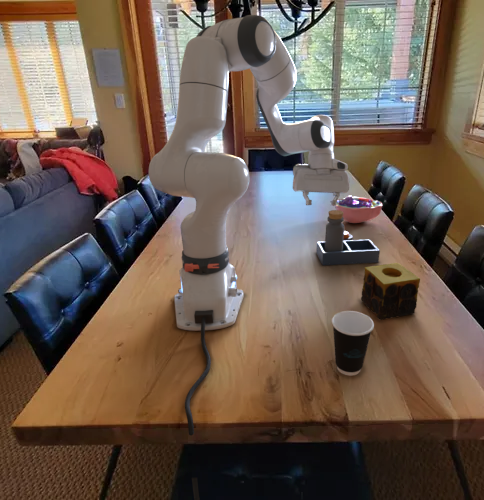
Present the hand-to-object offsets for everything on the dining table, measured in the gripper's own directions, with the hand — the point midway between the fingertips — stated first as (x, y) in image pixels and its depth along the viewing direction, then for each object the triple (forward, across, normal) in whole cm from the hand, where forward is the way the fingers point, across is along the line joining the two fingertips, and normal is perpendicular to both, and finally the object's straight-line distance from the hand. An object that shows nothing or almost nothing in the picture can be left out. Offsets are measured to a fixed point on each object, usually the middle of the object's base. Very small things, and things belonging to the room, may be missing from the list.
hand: (321, 205), depth 129 cm
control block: (+13, +10, +3) cm, 17 cm away
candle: (+29, +2, -36) cm, 46 cm away
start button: (+11, +10, +2) cm, 15 cm away
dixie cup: (+38, -18, -51) cm, 66 cm away
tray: (+18, +6, -7) cm, 20 cm away
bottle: (+17, +1, -6) cm, 18 cm away
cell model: (+5, +27, +22) cm, 35 cm away
